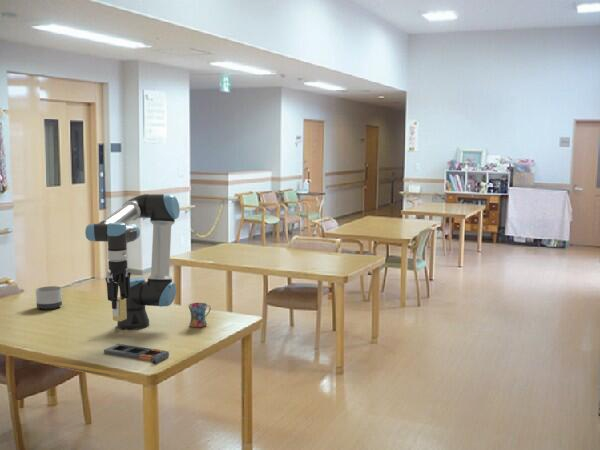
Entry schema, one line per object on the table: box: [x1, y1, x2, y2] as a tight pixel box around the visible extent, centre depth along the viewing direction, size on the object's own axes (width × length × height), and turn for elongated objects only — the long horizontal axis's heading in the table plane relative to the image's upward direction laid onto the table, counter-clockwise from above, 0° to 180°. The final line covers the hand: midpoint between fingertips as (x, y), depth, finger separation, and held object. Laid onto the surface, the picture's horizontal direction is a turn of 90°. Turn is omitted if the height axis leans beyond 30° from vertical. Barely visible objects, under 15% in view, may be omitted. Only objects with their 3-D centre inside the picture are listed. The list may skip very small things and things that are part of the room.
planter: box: [35, 285, 63, 310], centre depth 341 cm, size 13×13×10 cm
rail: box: [103, 343, 170, 365], centre depth 263 cm, size 26×9×3 cm, turn 67°
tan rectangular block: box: [112, 296, 127, 322], centre depth 264 cm, size 4×4×9 cm
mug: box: [187, 302, 212, 328], centre depth 308 cm, size 12×9×11 cm
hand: (119, 314), depth 264 cm, fingers closed on tan rectangular block, 4 cm apart
